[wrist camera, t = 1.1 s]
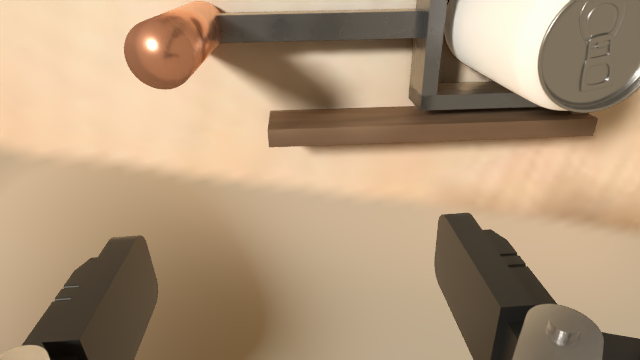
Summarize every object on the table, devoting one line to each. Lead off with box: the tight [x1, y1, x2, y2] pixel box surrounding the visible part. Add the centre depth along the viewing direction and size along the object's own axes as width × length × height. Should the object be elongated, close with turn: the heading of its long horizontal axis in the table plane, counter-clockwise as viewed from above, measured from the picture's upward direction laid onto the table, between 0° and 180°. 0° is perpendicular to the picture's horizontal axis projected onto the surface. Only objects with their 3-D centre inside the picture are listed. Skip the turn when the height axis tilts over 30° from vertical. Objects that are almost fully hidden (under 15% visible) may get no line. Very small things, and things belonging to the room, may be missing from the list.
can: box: [444, 0, 640, 113], centre depth 24 cm, size 6×6×12 cm
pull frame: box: [124, 0, 541, 111], centre depth 24 cm, size 10×26×10 cm, turn 91°
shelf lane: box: [268, 106, 597, 147], centre depth 27 cm, size 14×22×4 cm, turn 91°
